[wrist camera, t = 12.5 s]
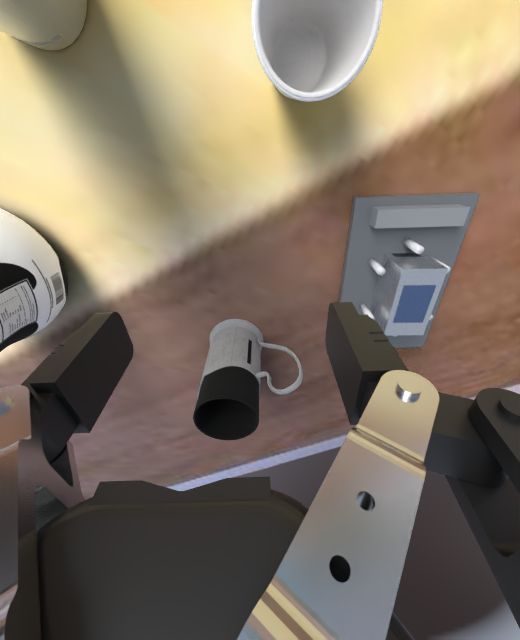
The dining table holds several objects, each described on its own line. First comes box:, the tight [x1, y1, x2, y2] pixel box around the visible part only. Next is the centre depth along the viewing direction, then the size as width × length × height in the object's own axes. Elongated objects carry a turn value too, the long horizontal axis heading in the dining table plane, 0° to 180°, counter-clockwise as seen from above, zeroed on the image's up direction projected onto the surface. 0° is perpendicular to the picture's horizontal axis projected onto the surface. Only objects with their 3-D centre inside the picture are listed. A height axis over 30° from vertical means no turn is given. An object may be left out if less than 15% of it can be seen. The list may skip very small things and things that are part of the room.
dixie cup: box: [252, 0, 383, 102], centre depth 21 cm, size 8×8×10 cm
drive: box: [370, 253, 448, 336], centre depth 34 cm, size 9×5×6 cm, turn 1°
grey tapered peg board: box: [338, 193, 480, 348], centre depth 36 cm, size 22×14×5 cm, turn 2°
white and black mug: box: [193, 319, 303, 440], centre depth 36 cm, size 9×14×15 cm, turn 116°
